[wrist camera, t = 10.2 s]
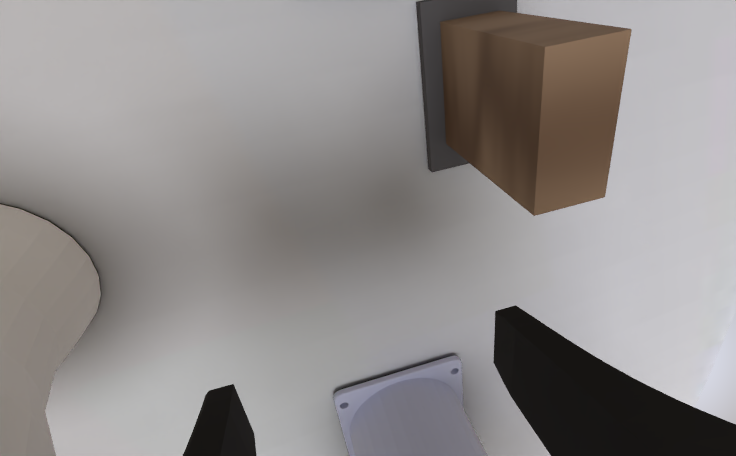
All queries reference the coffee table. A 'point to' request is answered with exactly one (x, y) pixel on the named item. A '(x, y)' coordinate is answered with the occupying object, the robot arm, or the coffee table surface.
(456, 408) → the robot arm
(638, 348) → the coffee table surface
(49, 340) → the cream vase
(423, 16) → the pad
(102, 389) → the coffee table surface
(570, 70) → the brown wooden block
